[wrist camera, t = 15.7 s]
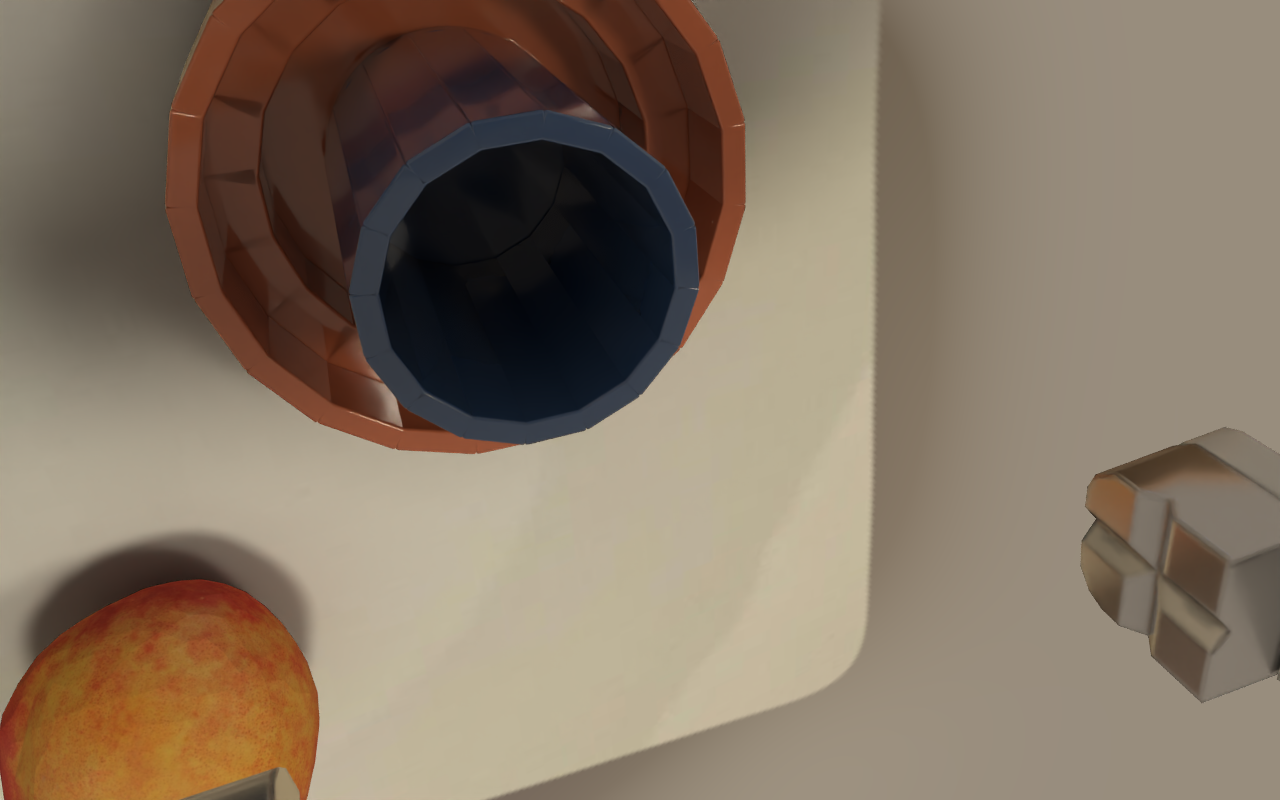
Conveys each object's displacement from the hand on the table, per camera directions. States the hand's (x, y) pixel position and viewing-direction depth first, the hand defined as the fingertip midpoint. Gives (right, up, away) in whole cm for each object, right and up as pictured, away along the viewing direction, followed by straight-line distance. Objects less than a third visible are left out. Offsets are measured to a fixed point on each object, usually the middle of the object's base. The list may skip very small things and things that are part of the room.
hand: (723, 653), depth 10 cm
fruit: (-15, -5, +21) cm, 26 cm away
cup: (-5, +8, +16) cm, 19 cm away
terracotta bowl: (-6, +9, +16) cm, 19 cm away
